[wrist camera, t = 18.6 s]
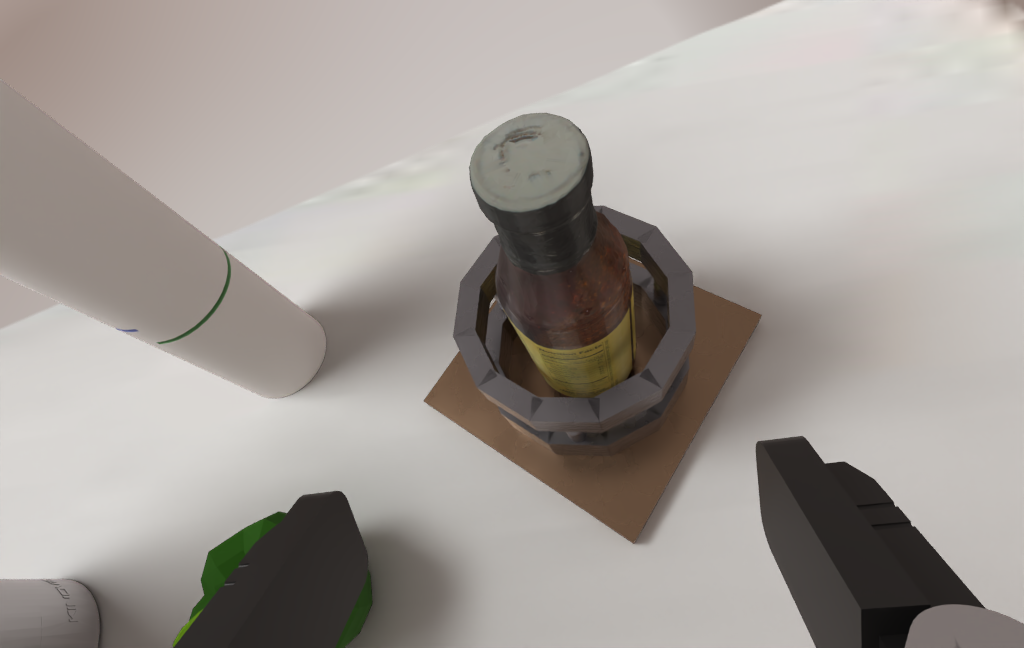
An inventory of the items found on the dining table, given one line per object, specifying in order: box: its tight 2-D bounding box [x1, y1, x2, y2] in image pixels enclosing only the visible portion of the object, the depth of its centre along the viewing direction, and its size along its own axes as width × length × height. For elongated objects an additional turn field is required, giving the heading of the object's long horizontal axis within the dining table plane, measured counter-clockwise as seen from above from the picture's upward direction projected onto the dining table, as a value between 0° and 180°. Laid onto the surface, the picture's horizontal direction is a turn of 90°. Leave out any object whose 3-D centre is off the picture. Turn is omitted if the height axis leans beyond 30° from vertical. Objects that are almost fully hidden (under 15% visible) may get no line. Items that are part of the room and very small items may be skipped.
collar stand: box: [424, 206, 761, 544], centre depth 32 cm, size 16×16×9 cm
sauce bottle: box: [469, 113, 636, 398], centre depth 26 cm, size 7×6×20 cm
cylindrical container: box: [0, 78, 326, 398], centre depth 31 cm, size 7×7×25 cm
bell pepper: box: [173, 512, 372, 648], centre depth 29 cm, size 8×8×10 cm
